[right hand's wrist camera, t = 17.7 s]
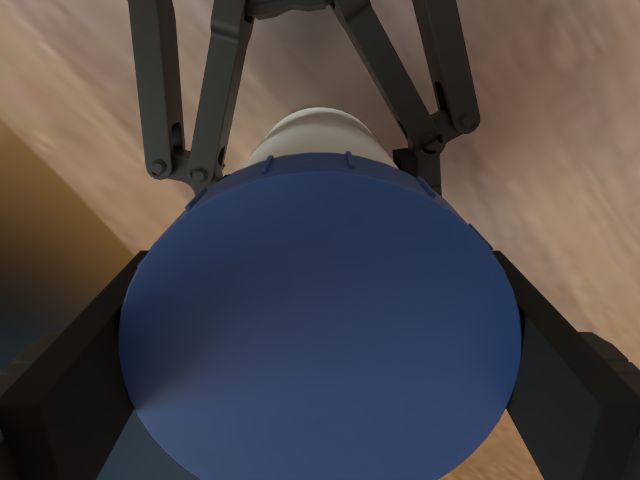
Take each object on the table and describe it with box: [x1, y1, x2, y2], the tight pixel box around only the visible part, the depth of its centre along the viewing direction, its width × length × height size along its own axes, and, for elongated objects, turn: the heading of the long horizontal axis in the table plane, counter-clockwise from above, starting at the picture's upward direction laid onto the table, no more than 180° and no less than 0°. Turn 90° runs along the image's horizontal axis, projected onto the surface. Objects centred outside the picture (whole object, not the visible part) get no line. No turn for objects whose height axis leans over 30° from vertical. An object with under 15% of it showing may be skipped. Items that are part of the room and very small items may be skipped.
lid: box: [118, 151, 522, 480], centre depth 11 cm, size 9×9×2 cm
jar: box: [242, 107, 398, 169], centre depth 20 cm, size 8×8×19 cm
